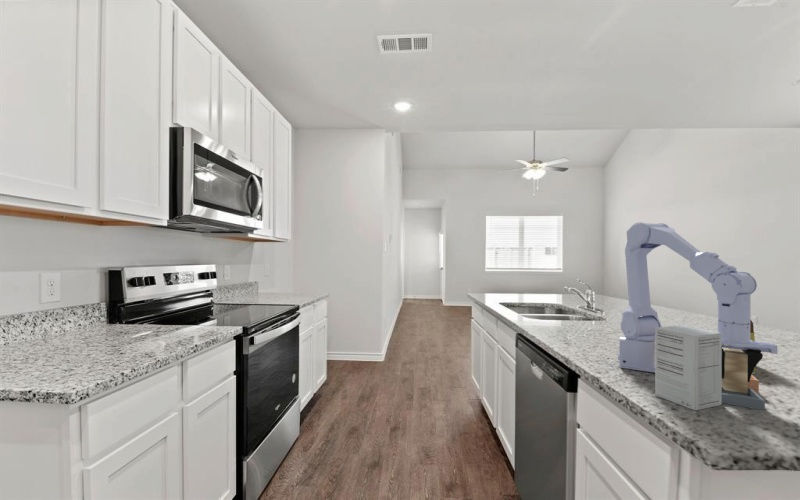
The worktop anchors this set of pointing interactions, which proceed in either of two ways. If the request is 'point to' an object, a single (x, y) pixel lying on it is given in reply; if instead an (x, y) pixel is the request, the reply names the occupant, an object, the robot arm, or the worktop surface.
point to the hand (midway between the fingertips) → (733, 378)
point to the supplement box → (688, 366)
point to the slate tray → (743, 399)
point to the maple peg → (735, 371)
